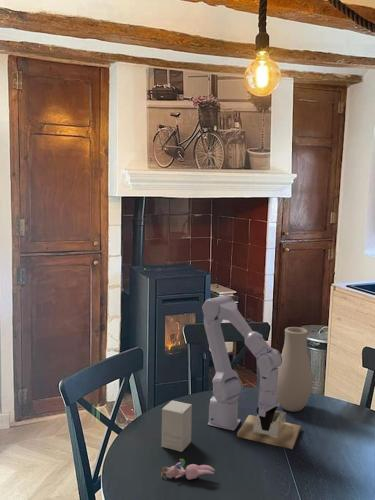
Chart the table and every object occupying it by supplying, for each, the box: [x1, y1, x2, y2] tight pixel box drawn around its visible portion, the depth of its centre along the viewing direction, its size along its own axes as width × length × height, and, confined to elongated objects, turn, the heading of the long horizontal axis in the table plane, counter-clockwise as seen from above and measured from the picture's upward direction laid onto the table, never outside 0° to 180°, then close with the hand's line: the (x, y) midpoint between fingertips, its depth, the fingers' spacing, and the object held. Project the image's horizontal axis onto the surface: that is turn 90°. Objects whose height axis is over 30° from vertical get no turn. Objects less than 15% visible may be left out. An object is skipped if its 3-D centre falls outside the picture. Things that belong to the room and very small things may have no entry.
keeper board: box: [236, 414, 302, 450], centre depth 169 cm, size 18×14×6 cm
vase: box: [277, 326, 314, 412], centre depth 186 cm, size 14×14×30 cm
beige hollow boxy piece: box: [253, 409, 287, 437], centre depth 169 cm, size 8×12×4 cm, turn 157°
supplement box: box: [161, 400, 193, 453], centre depth 160 cm, size 7×7×13 cm
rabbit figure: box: [160, 458, 216, 480], centre depth 142 cm, size 6×6×15 cm
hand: (266, 428), depth 164 cm, fingers closed on beige hollow boxy piece, 2 cm apart
